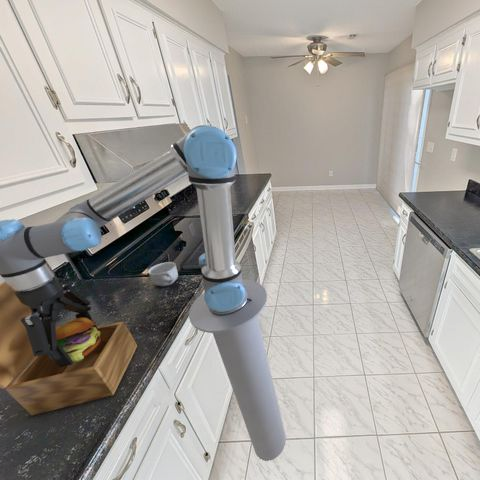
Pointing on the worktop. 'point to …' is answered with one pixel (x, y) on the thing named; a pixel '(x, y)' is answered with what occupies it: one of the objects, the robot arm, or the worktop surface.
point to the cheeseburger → (78, 338)
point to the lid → (12, 336)
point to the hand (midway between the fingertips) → (80, 346)
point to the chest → (75, 374)
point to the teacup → (163, 273)
